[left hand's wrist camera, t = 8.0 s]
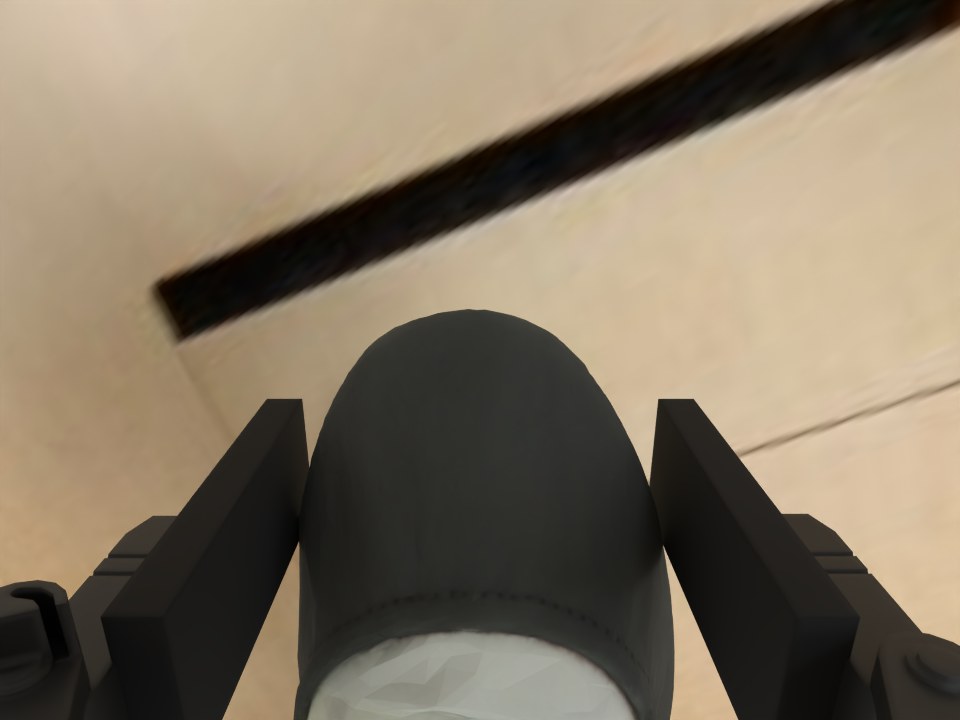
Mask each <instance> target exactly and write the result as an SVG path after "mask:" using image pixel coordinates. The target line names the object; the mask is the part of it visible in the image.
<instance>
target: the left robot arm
mask: <svg viewBox="0 0 960 720" xmlns="http://www.w3.org/2000/svg"><path fill="white" fill-rule="evenodd" d="M308 470H309V461H308V451H307V441H306V432H305V422H304V412H303V403H302V399H267V400H266V401H265V402H264V404H263V405H262V406H261V407H260V409H259V410H258V411H257V413H256V414H255V415H254V417H253V418H252V419H251V421H250V422H249V423H248V424H247V426H246V427H245V428H244V430H243V431H242V432H241V434H240V435H239V436H238V438H237V439H236V440H235V441H234V443H233V444H232V445H231V447H230V448H229V449H228V451H227V452H226V453H225V455H224V456H223V457H222V458H221V460H220V461H219V462H218V464H217V465H216V466H215V468H214V469H213V470H212V471H211V473H210V474H209V475H208V477H207V478H206V479H205V481H204V482H203V483H202V485H201V486H200V487H199V488H198V490H197V491H196V492H195V494H194V495H193V496H192V498H191V499H190V500H189V502H188V503H187V504H186V505H185V507H184V508H183V509H182V511H181V512H180V513H179V515H178V516H152V517H151V518H149V519H148V520H146V521H145V522H143V523H142V524H140V525H138V526H137V527H135V528H134V529H132V530H131V531H129V532H128V533H126V534H125V535H124V537H123V538H122V539H121V540H120V541H119V542H118V544H117V545H116V546H115V547H114V548H113V549H112V551H111V552H110V553H109V554H108V558H105V559H104V560H103V561H102V562H101V563H100V565H99V566H98V567H97V568H96V569H95V570H94V574H93V576H89V577H88V579H87V580H86V581H85V582H84V583H83V584H82V586H81V587H80V588H79V589H78V590H77V591H76V593H75V594H74V595H73V596H72V597H71V598H70V600H69V601H68V597H67V593H66V590H64V589H63V588H62V587H60V586H59V585H58V584H56V583H53V582H47V581H40V580H35V581H27V582H18V583H13V584H10V585H7V586H4V587H0V720H222V719H223V716H224V714H225V712H226V709H227V707H228V705H229V703H230V700H231V698H232V696H233V693H234V691H235V689H236V686H237V684H238V682H239V679H240V677H241V675H242V672H243V670H244V668H245V665H246V663H247V661H248V658H249V656H250V654H251V651H252V649H253V647H254V644H255V642H256V640H257V637H258V635H259V633H260V630H261V628H262V626H263V624H264V621H265V619H266V617H267V614H268V612H269V610H270V607H271V605H272V603H273V600H274V598H275V596H276V593H277V591H278V589H279V586H280V584H281V582H282V579H283V577H284V575H285V572H286V570H287V568H288V565H289V563H290V561H291V558H292V556H293V554H294V551H295V549H296V547H297V545H298V542H299V515H300V511H301V506H302V496H303V492H304V488H305V484H306V481H307V474H308ZM649 488H650V490H651V493H652V496H653V500H654V503H655V506H656V510H657V513H658V518H659V522H660V527H661V536H662V542H663V546H664V548H665V550H666V553H667V555H668V557H669V560H670V562H671V564H672V567H673V569H674V571H675V573H676V576H677V578H678V580H679V583H680V585H681V587H682V590H683V592H684V594H685V597H686V599H687V601H688V604H689V606H690V608H691V611H692V613H693V615H694V618H695V620H696V622H697V625H698V627H699V629H700V632H701V634H702V636H703V639H704V641H705V643H706V646H707V648H708V650H709V652H710V655H711V657H712V659H713V662H714V664H715V666H716V669H717V671H718V673H719V676H720V678H721V680H722V683H723V685H724V687H725V690H726V692H727V694H728V697H729V699H730V701H731V704H732V706H733V708H734V711H735V713H736V715H737V718H738V720H960V646H959V645H957V644H955V643H954V642H951V641H948V640H945V639H942V638H939V637H936V636H934V635H931V634H926V633H922V632H921V631H920V629H919V628H918V627H917V626H916V625H915V624H914V623H913V621H912V620H911V619H910V618H909V617H908V616H907V614H906V613H905V612H904V611H903V610H902V609H901V607H900V606H899V605H898V604H897V603H896V602H895V600H894V599H893V598H892V597H891V596H890V595H889V594H888V592H887V591H886V590H885V589H884V588H883V587H882V585H881V584H880V583H879V582H878V581H877V580H876V578H875V577H874V576H873V575H872V574H868V569H867V568H866V567H865V566H864V565H863V563H862V562H861V561H860V560H859V559H858V558H857V556H853V552H852V551H851V550H850V548H849V547H848V546H847V545H846V544H845V543H844V541H843V540H842V539H841V538H840V537H839V536H838V534H837V533H836V532H835V531H833V530H832V529H830V528H829V527H827V526H826V525H824V524H823V523H821V522H820V521H818V520H816V519H815V518H813V517H812V516H810V515H809V514H781V513H780V511H779V510H778V509H777V507H776V506H775V505H774V503H773V502H772V501H771V499H770V498H769V497H768V496H767V494H766V493H765V492H764V490H763V489H762V488H761V486H760V485H759V484H758V482H757V481H756V480H755V479H754V477H753V476H752V475H751V473H750V472H749V471H748V469H747V468H746V467H745V466H744V464H743V463H742V462H741V460H740V459H739V458H738V456H737V455H736V454H735V452H734V451H733V450H732V449H731V447H730V446H729V445H728V443H727V442H726V441H725V439H724V438H723V437H722V435H721V434H720V433H719V432H718V430H717V429H716V428H715V426H714V425H713V424H712V422H711V421H710V420H709V418H708V417H707V416H706V415H705V413H704V412H703V411H702V409H701V408H700V407H699V405H698V404H697V403H696V402H695V400H694V399H658V408H657V418H656V427H655V437H654V447H653V457H652V466H651V476H650V486H649Z"/></svg>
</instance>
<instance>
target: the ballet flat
mask: <svg viewBox="0 0 960 720" xmlns="http://www.w3.org/2000/svg"><path fill="white" fill-rule="evenodd" d="M299 547H300V561H299V565H300V599H299V635H298V667H299V678H300V684H299V686H298V689H297V694H296V700H295V710H294V720H670V715H671V708H672V700H673V690H674V631H673V616H672V605H671V594H670V586H669V579H668V573H667V567H666V560H665V554H664V548H663V542H662V536H661V527H660V522H659V518H658V513H657V510H656V506H655V503H654V500H653V496H652V493H651V490H650V488H649V485H648V482H647V479H646V476H645V473H644V471H643V468H642V465H641V463H640V460H639V458H638V456H637V453H636V451H635V449H634V447H633V445H632V443H631V441H630V439H629V437H628V435H627V433H626V431H625V429H624V427H623V425H622V423H621V421H620V419H619V417H618V416H617V414H616V412H615V410H614V408H613V407H612V405H611V403H610V401H609V400H608V398H607V397H606V395H605V394H604V393H603V391H602V390H601V388H600V387H599V385H598V384H597V383H596V381H595V380H594V378H593V377H592V375H591V374H590V373H589V371H588V370H587V368H586V366H585V364H584V363H583V362H582V361H581V360H580V359H579V358H578V357H577V356H576V355H575V354H574V353H573V352H572V351H571V350H570V349H569V348H568V347H567V346H566V345H565V344H564V343H563V342H561V341H560V340H559V339H558V338H557V337H556V336H554V335H553V334H551V333H550V332H548V331H547V330H545V329H543V328H541V327H539V326H537V325H535V324H533V323H531V322H528V321H526V320H524V319H521V318H518V317H515V316H512V315H508V314H504V313H499V312H494V311H489V310H471V309H466V310H458V311H450V312H443V313H437V314H434V315H431V316H428V317H424V318H419V319H416V320H413V321H410V322H408V323H406V324H403V325H401V326H398V327H395V328H394V329H392V330H391V331H389V332H388V333H386V334H385V335H383V336H381V337H380V338H379V339H377V340H376V341H375V342H374V343H373V344H371V345H370V346H369V347H368V348H367V349H366V350H365V352H364V353H363V355H362V356H361V357H360V358H359V360H358V361H357V363H356V364H355V365H354V367H353V368H352V369H351V371H350V372H349V373H348V375H347V377H346V379H345V381H344V383H343V384H342V386H341V387H340V389H339V391H338V393H337V395H336V396H335V398H334V400H333V402H332V405H331V407H330V409H329V411H328V413H327V415H326V417H325V420H324V424H323V427H322V429H321V431H320V433H319V437H318V440H317V443H316V447H315V449H314V452H313V455H312V458H311V464H310V468H309V470H308V474H307V481H306V484H305V488H304V492H303V496H302V506H301V511H300V515H299Z"/></svg>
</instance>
